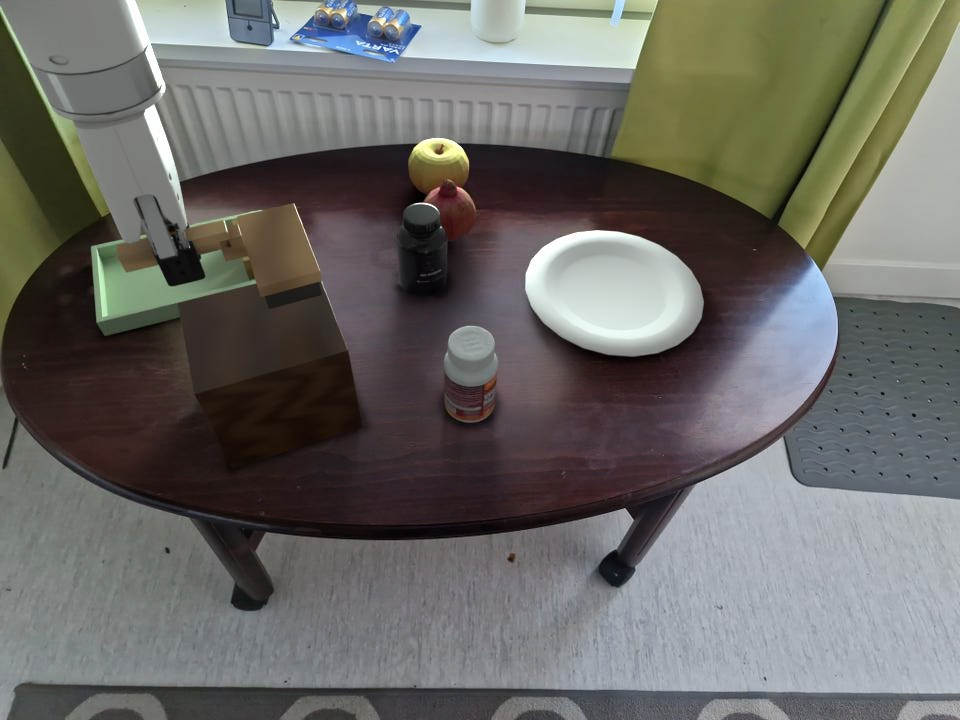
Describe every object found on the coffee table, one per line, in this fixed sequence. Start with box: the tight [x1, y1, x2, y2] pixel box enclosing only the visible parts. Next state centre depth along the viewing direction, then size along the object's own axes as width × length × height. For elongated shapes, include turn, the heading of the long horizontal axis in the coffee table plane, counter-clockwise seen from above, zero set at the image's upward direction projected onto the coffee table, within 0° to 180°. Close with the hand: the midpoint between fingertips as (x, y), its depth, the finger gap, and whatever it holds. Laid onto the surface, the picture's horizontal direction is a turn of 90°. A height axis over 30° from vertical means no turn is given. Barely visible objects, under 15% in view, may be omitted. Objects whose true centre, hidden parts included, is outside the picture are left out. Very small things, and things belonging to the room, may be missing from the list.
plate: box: [524, 229, 705, 358], centre depth 91 cm, size 25×25×2 cm
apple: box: [407, 137, 470, 196], centre depth 103 cm, size 10×10×8 cm
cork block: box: [242, 256, 255, 280], centre depth 90 cm, size 4×4×4 cm
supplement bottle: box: [395, 202, 449, 298], centre depth 87 cm, size 7×7×12 cm
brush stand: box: [178, 281, 364, 469], centre depth 72 cm, size 15×13×14 cm
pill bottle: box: [443, 325, 499, 424], centre depth 75 cm, size 6×6×11 cm
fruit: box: [422, 180, 477, 242], centre depth 95 cm, size 8×8×10 cm
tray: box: [90, 209, 262, 337], centre depth 90 cm, size 24×16×3 cm, turn 113°
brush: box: [116, 203, 324, 309], centre depth 59 cm, size 16×11×6 cm
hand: (185, 270), depth 59 cm, fingers closed on brush
